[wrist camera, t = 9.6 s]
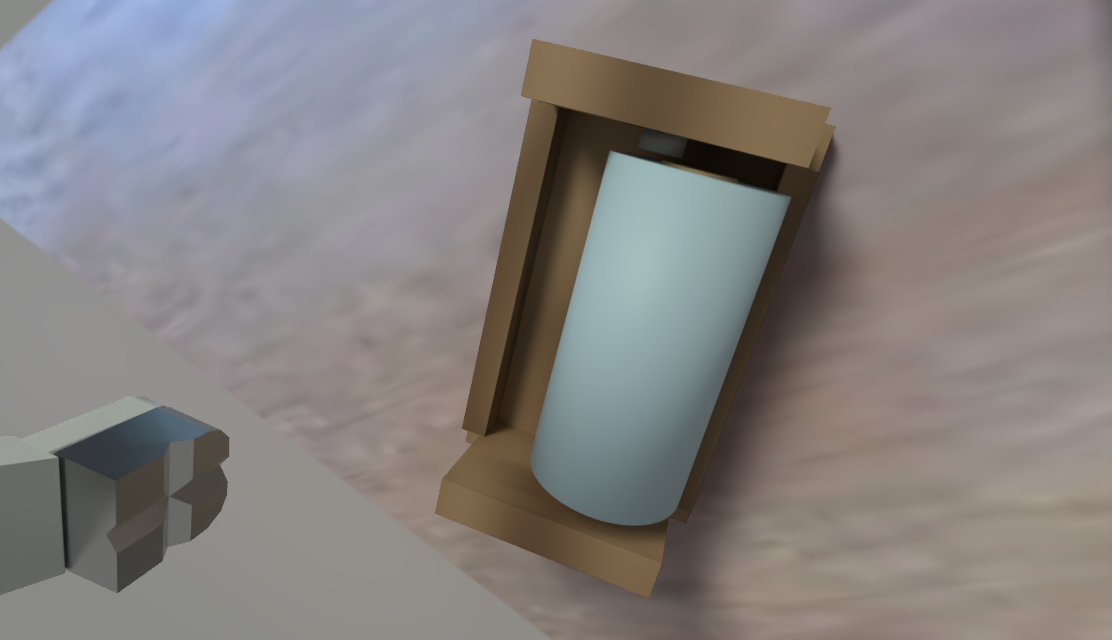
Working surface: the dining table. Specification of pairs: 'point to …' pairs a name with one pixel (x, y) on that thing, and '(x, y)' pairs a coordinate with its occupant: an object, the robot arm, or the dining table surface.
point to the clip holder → (552, 266)
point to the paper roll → (650, 334)
